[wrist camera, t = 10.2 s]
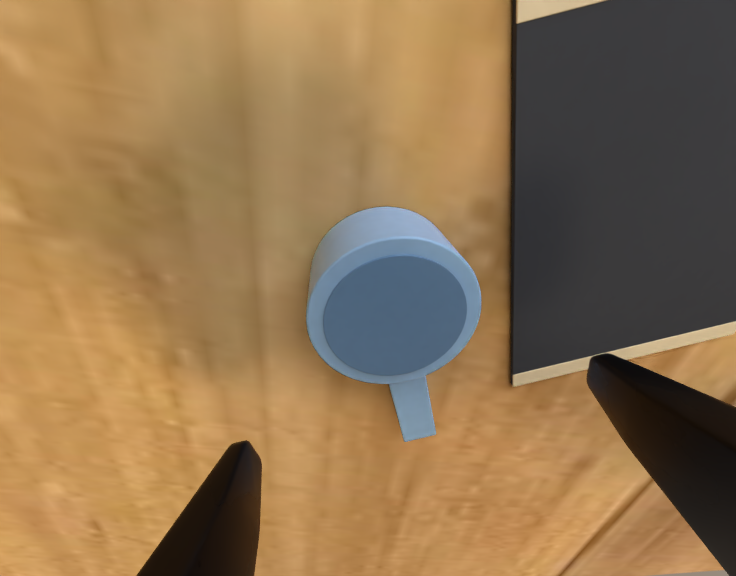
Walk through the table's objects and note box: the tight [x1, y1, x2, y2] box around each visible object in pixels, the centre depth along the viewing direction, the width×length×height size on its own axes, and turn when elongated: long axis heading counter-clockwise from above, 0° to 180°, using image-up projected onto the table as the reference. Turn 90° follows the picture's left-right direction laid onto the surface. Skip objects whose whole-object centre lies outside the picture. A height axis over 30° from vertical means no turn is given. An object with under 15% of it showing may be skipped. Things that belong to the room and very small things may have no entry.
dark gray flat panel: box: [511, 0, 736, 387], centre depth 14 cm, size 18×13×1 cm
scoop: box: [306, 207, 481, 442], centre depth 15 cm, size 12×6×4 cm, turn 13°
